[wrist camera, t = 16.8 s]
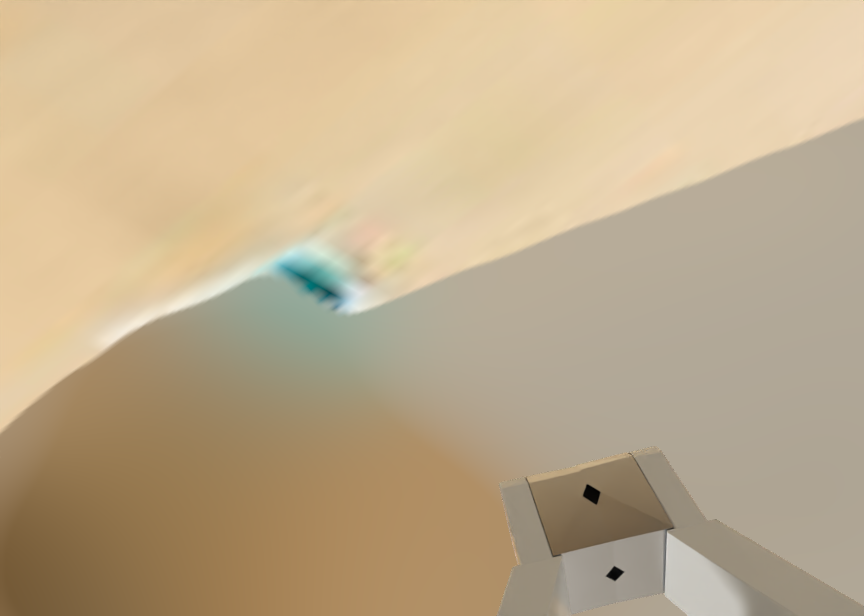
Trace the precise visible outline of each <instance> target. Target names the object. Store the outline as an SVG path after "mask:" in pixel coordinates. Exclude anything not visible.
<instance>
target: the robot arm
mask: <svg viewBox="0 0 864 616" xmlns="http://www.w3.org/2000/svg"><path fill="white" fill-rule="evenodd" d="M499 486H500V491H501V495H502V500H503V504H504V509H505V513H506V517H507V522H508V526H509V531H510V535H511V539H512V543H513V547H514V551H515V555H516V559H517V563H518V566H514V567H513V568H512V571H511V574H510V577H509V580H508V583H507V586H506V589H505V592H504V595H503V598H502V602H501V605H500V608H499V611H498V614H497V616H571V614H575V613H579V612H583V611H586V610H590V609H594V608H598V607H602V606H605V605H609V604H613V603H616V602H622V601H627V600H632V599H637V598H642V597H647V596H651V595H657V594H661V593H665V596H666V597H667V598H668V599H669V600H670V601H672V602H673V603H674V604H675V605H676V606H677V607H679V608H680V609H681V610H682V611H683V612H684V613H686V614H687V615H688V616H864V606H863V605H861V604H859V603H858V602H856V601H854V600H853V599H851V598H849V597H848V596H846V595H844V594H842V593H841V592H839V591H837V590H836V589H834V588H832V587H831V586H829V585H827V584H825V583H824V582H822V581H820V580H819V579H817V578H815V577H814V576H812V575H810V574H808V573H806V572H805V571H803V570H802V569H800V568H798V567H797V566H795V565H793V564H791V563H789V562H788V561H786V560H784V559H783V558H781V557H779V556H777V555H776V554H774V553H772V552H771V551H769V550H768V549H766V548H764V547H762V546H761V545H759V544H757V543H756V542H754V541H752V540H751V539H749V538H747V537H745V536H744V535H742V534H740V533H739V532H737V531H735V530H733V529H732V528H730V527H728V526H727V525H725V524H723V523H722V522H720V521H718V520H716V519H714V520H709V521H707V520H706V518H705V516H704V515H703V513H702V512H701V510H700V509H699V507H698V506H697V504H696V503H695V501H694V500H693V498H692V497H691V495H690V494H689V492H688V491H687V489H686V487H685V486H684V485H683V483H682V482H681V480H680V479H679V477H678V476H677V474H676V472H675V471H674V469H673V468H672V466H671V465H670V463H669V462H668V460H667V459H666V457H665V455H664V454H663V452H662V451H661V450H660V449H659V448H658V447H656V446H653V447H649V448H645V449H641V450H637V451H632V452H629V453H627V452H625V453H621V454H617V455H614V456H610V457H606V458H602V459H598V460H594V461H590V462H586V463H582V464H578V465H576V466H575V467H570V468H565V469H560V470H556V471H551V472H546V473H542V474H537V475H532V476H527V477H526V478H525V477H523V478H518V479H514V480H510V481H506V482H501V483H499Z"/></svg>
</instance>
